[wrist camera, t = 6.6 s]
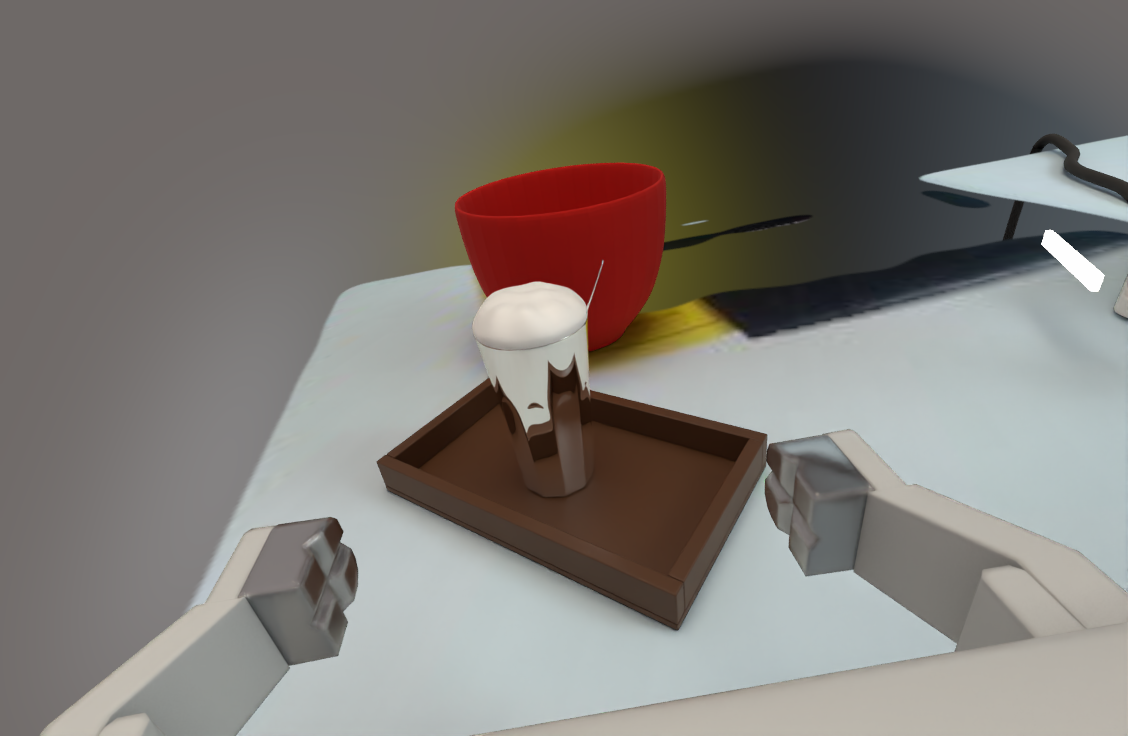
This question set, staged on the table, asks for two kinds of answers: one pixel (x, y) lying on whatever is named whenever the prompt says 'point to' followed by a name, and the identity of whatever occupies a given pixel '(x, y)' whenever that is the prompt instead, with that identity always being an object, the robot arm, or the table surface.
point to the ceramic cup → (572, 236)
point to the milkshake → (541, 380)
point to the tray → (593, 495)
